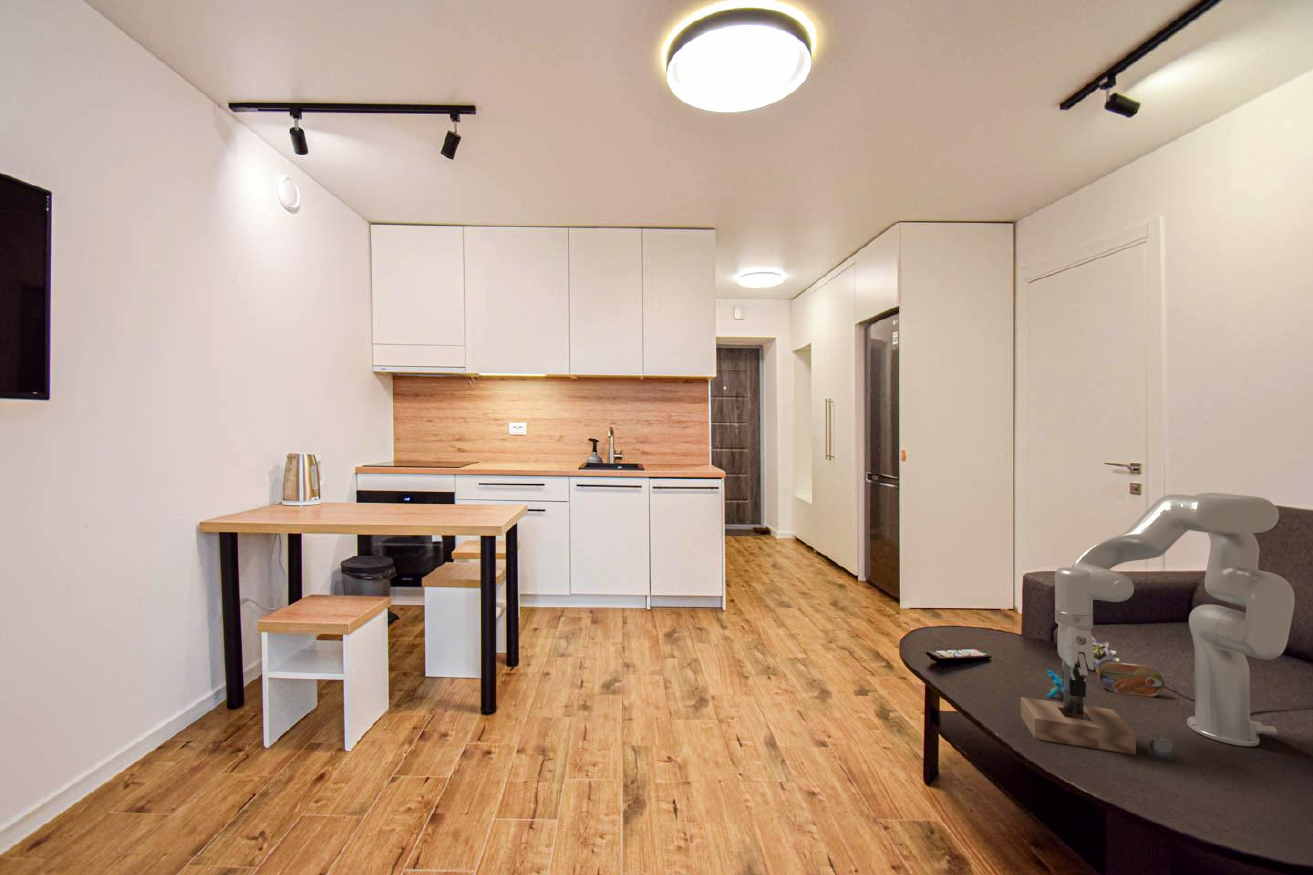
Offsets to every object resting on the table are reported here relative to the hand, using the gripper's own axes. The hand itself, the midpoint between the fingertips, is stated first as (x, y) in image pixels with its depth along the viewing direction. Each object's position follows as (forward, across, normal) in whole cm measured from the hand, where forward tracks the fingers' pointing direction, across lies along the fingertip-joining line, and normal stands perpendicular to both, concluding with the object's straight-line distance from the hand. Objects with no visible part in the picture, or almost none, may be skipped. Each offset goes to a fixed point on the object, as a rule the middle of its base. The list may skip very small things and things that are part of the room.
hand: (1073, 691), depth 136 cm
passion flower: (+11, +51, -22) cm, 57 cm away
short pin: (+11, -5, -15) cm, 19 cm away
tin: (+11, +33, -24) cm, 42 cm away
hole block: (+11, 0, 0) cm, 11 cm away
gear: (+11, +21, -4) cm, 24 cm away
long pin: (+5, 0, 0) cm, 5 cm away
